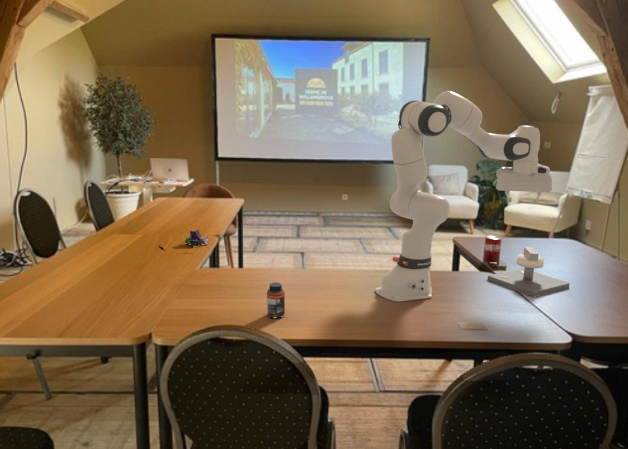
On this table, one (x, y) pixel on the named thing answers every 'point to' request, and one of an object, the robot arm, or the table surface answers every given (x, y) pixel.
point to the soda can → (492, 249)
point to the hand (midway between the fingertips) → (522, 202)
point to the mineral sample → (196, 238)
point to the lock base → (528, 281)
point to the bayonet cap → (530, 259)
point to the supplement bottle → (275, 300)
